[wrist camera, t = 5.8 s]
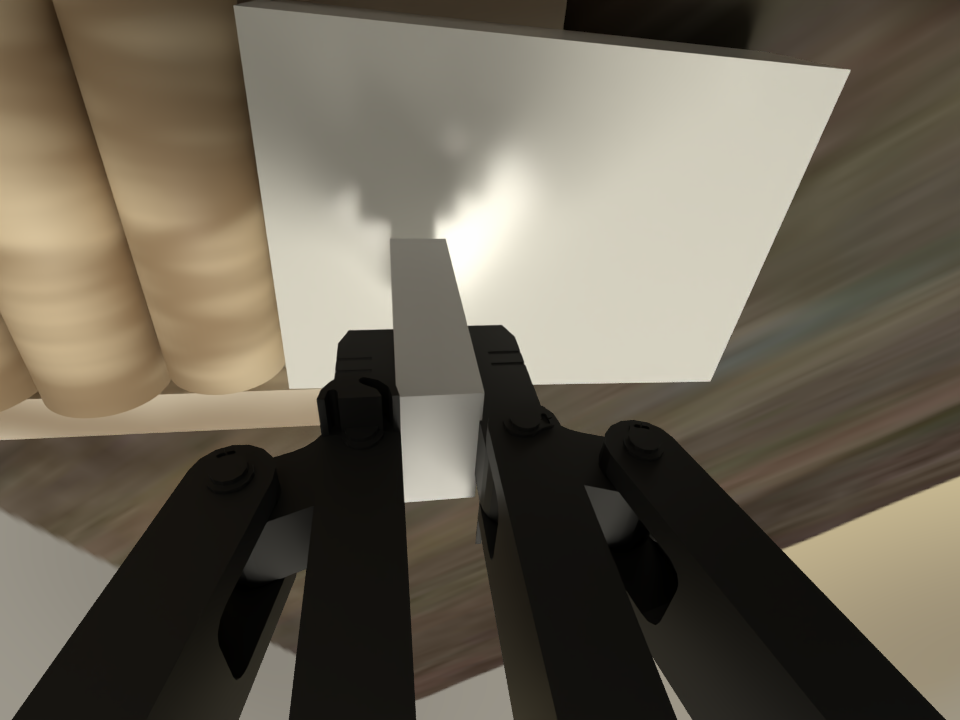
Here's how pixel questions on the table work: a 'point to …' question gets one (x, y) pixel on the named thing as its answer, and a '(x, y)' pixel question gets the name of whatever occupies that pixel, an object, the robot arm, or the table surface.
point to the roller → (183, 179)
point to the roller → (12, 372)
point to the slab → (523, 180)
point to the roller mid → (65, 235)
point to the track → (273, 401)
